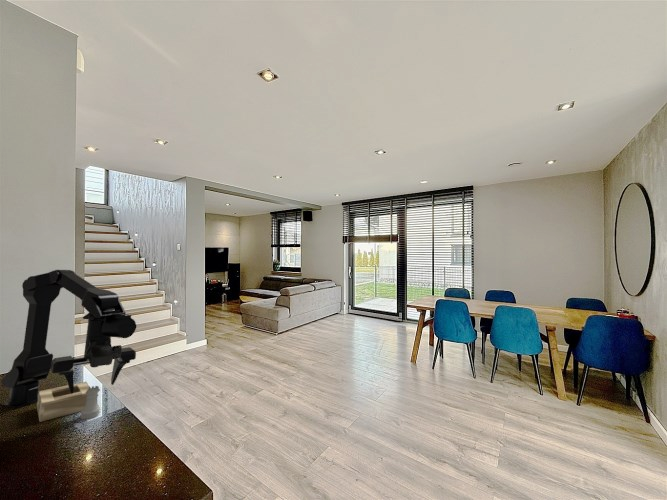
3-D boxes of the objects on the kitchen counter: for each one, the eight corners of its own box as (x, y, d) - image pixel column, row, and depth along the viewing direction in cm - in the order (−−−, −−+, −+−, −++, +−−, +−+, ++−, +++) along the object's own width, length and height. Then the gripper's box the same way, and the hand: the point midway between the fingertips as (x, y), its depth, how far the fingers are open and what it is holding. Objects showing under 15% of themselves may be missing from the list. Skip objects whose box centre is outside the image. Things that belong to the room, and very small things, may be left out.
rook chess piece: (88, 420, 79) (91, 391, 80) (75, 418, 80) (79, 389, 81) (103, 413, 83) (106, 385, 84) (92, 411, 84) (95, 383, 85)
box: (36, 408, 85) (38, 391, 85) (84, 397, 93) (86, 381, 93) (39, 421, 77) (42, 403, 78) (91, 408, 86) (93, 391, 86)
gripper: (59, 345, 71) (51, 409, 70) (143, 335, 86) (138, 388, 84) (54, 337, 79) (46, 395, 77) (132, 329, 93) (127, 377, 91)
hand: (92, 388), depth 82 cm, fingers open, 9 cm apart
